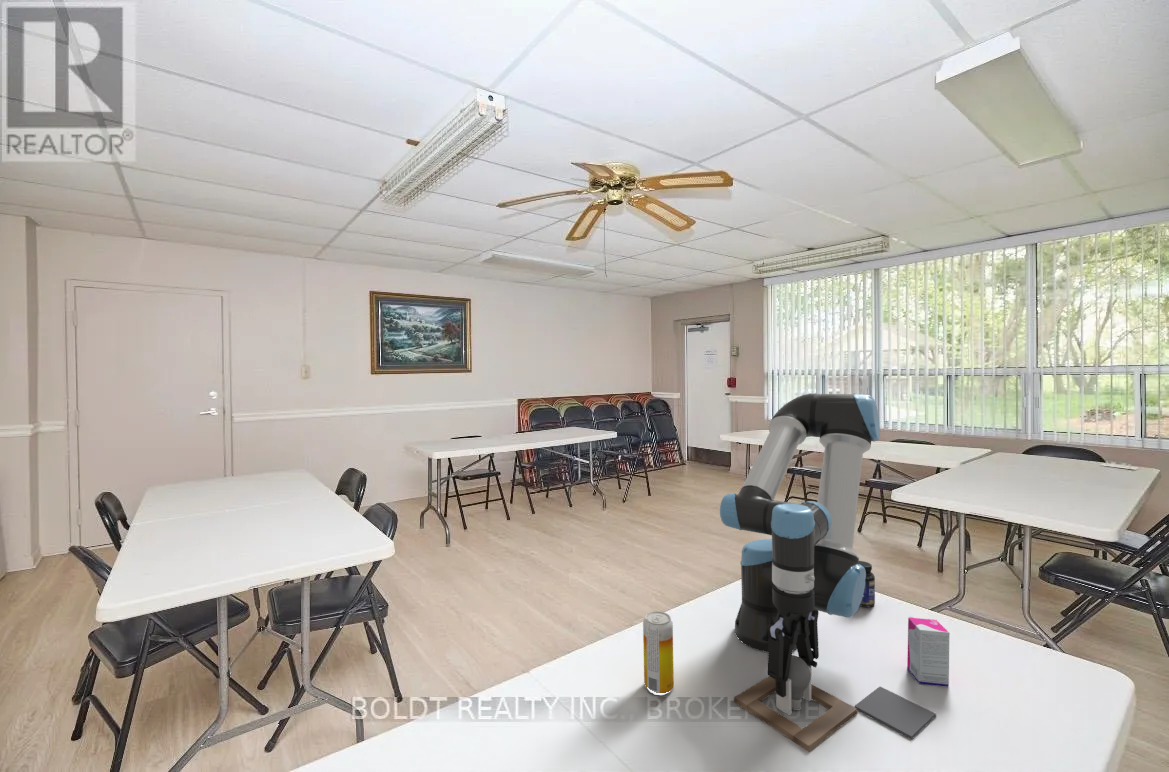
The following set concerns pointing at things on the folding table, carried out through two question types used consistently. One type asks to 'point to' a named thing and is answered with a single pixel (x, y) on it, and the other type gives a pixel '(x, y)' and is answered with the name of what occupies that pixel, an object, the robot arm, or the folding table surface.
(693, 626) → the folding table surface
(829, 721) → the wooden picture frame
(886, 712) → the mat
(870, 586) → the pill bottle
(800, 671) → the light bulb
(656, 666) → the beer can
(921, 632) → the supplement box
